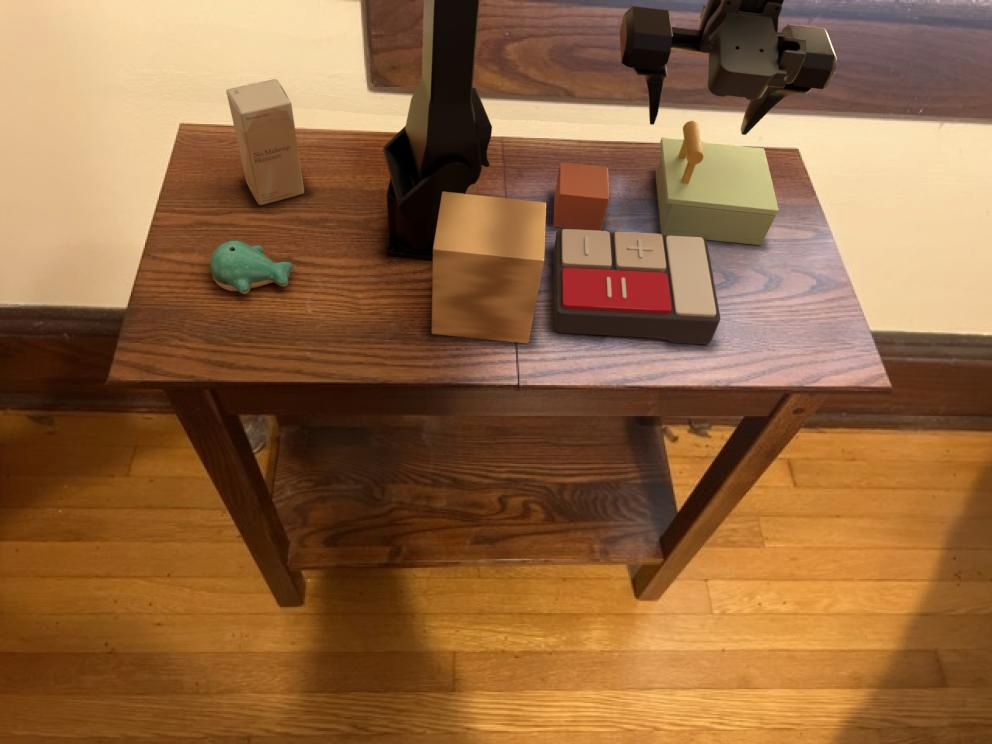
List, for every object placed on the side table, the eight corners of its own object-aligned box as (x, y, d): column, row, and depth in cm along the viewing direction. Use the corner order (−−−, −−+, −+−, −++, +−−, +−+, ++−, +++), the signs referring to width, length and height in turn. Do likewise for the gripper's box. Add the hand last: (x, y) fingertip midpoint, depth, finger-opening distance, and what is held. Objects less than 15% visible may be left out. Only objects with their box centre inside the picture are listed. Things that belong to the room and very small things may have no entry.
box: (259, 207, 76) (236, 114, 67) (245, 181, 78) (221, 88, 69) (307, 193, 77) (292, 100, 68) (293, 168, 79) (276, 76, 70)
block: (553, 226, 77) (559, 193, 74) (554, 195, 80) (560, 162, 77) (600, 231, 78) (608, 199, 74) (599, 200, 80) (607, 167, 77)
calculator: (557, 222, 72) (708, 230, 72) (552, 254, 76) (697, 261, 76) (557, 307, 66) (724, 316, 66) (553, 337, 69) (711, 345, 69)
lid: (666, 203, 75) (679, 165, 71) (659, 142, 80) (671, 104, 76) (776, 215, 75) (795, 178, 71) (762, 153, 81) (779, 116, 77)
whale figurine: (226, 251, 72) (217, 222, 68) (300, 262, 72) (295, 233, 68) (205, 295, 68) (195, 267, 65) (283, 307, 68) (277, 279, 65)
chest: (661, 235, 78) (671, 204, 75) (655, 173, 84) (665, 143, 80) (760, 245, 78) (776, 216, 75) (748, 184, 84) (761, 154, 81)
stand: (431, 334, 68) (432, 249, 59) (439, 278, 72) (442, 191, 63) (528, 343, 68) (544, 260, 59) (531, 288, 72) (546, 202, 63)
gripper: (648, 3, 55) (606, 169, 68) (890, 31, 56) (804, 191, 68) (640, -65, 62) (603, 98, 74) (858, -40, 62) (784, 118, 75)
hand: (697, 127), depth 73 cm, fingers open, 9 cm apart
